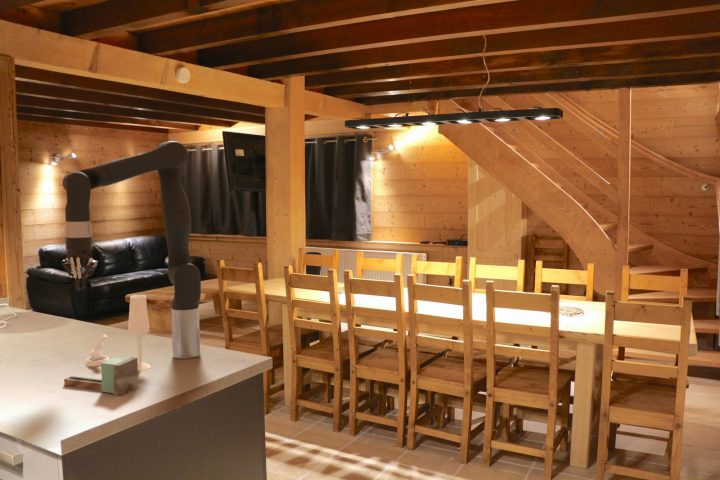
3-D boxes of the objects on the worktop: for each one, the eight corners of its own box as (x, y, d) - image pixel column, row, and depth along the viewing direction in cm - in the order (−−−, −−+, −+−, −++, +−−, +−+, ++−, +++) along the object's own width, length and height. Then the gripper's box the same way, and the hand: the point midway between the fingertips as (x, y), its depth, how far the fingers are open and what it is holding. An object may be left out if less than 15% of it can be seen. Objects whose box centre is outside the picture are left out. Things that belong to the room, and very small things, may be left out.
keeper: (101, 391, 170) (100, 363, 169) (116, 384, 176) (115, 357, 175) (116, 393, 168) (115, 364, 167) (130, 386, 174) (129, 358, 173)
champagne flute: (128, 371, 189) (125, 298, 187) (130, 365, 196) (128, 294, 193) (150, 369, 191) (148, 297, 189) (151, 363, 197) (149, 293, 195)
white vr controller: (117, 351, 194) (98, 341, 192) (99, 378, 196) (79, 368, 194) (123, 340, 201) (105, 330, 199) (106, 366, 203) (87, 356, 201)
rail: (57, 388, 173) (56, 358, 172) (78, 379, 181) (77, 351, 180) (120, 396, 167) (118, 365, 166) (138, 387, 174) (137, 357, 174)
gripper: (52, 235, 182) (54, 290, 184) (87, 237, 179) (89, 293, 180) (70, 234, 189) (72, 286, 191) (104, 235, 186) (106, 289, 187)
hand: (80, 289), depth 186 cm, fingers closed
